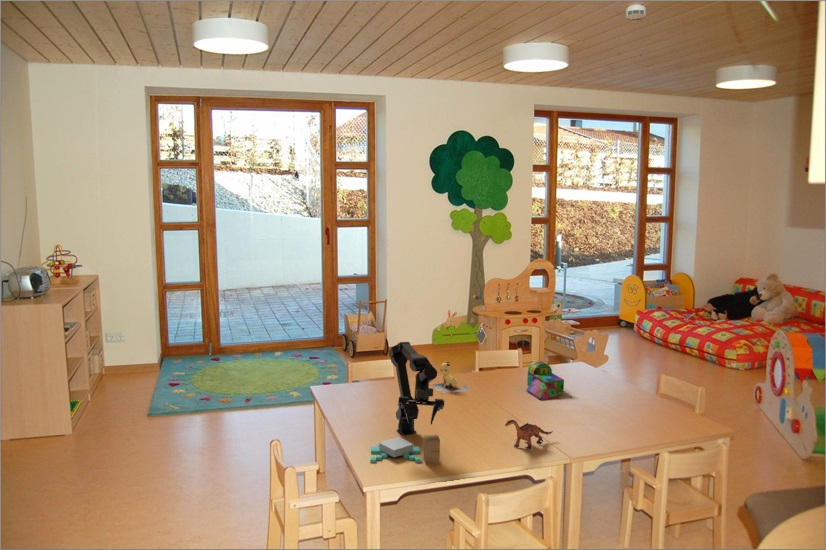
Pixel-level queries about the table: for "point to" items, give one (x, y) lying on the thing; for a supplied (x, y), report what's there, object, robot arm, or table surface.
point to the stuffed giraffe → (448, 381)
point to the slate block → (396, 447)
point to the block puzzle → (543, 382)
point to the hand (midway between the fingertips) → (419, 423)
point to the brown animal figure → (527, 433)
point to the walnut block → (431, 449)
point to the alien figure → (384, 455)
